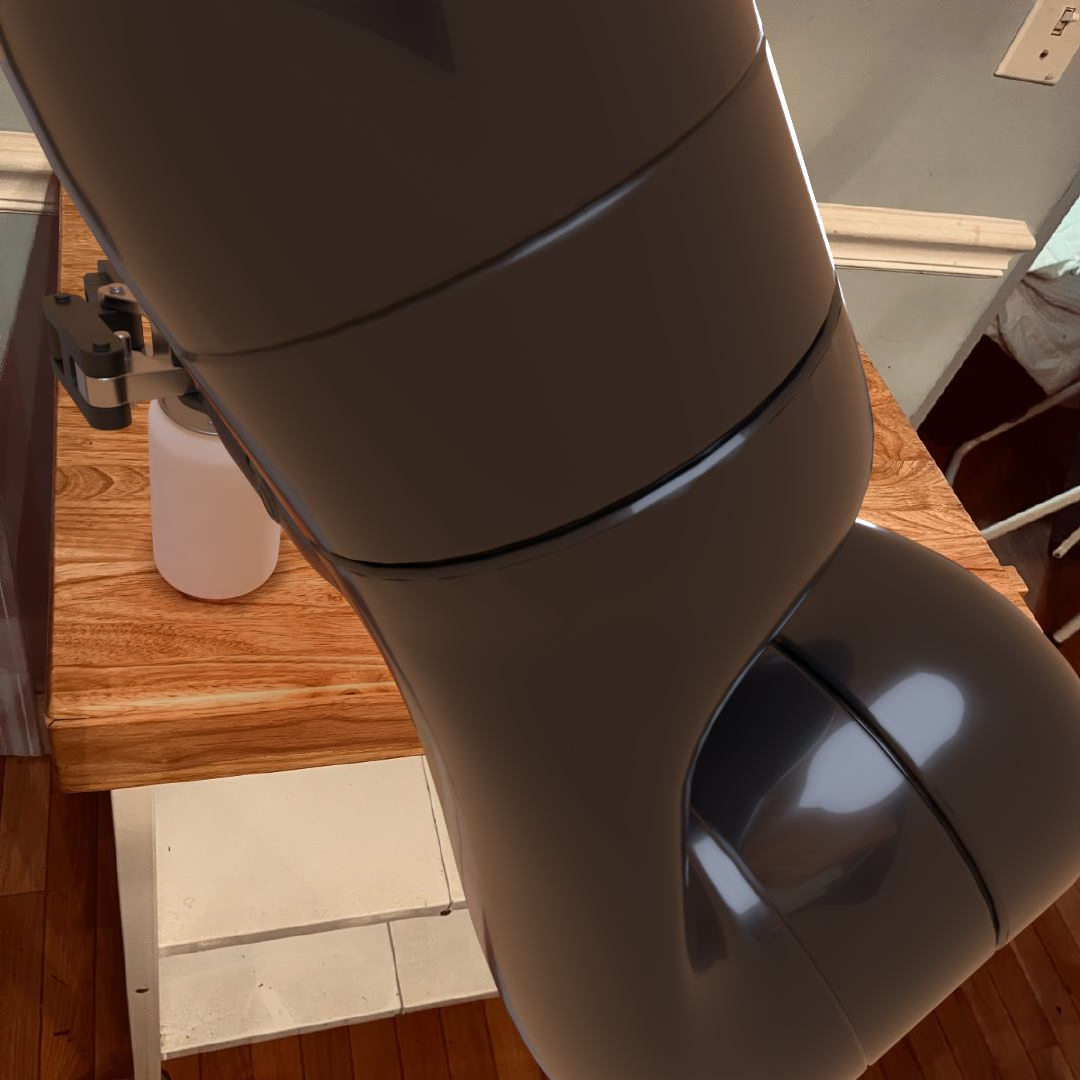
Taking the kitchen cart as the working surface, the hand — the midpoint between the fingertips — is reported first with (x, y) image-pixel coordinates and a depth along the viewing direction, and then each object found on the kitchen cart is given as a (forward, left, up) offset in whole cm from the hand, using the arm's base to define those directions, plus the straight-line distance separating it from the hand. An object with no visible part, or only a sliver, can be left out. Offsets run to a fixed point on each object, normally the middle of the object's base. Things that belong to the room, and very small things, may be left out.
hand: (223, 278), depth 42 cm
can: (-2, +2, -20) cm, 20 cm away
